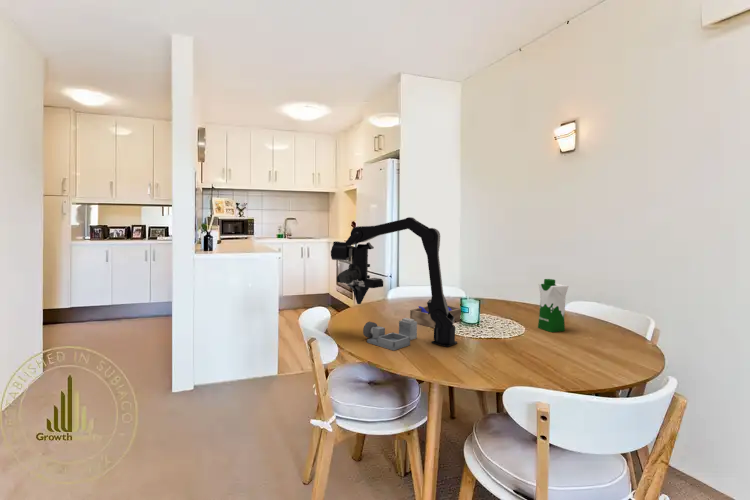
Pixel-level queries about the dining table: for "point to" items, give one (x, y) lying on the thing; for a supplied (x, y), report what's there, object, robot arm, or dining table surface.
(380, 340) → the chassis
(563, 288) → the milk carton
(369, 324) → the wheel
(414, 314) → the toy corral
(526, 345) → the dining table surface
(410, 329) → the block
